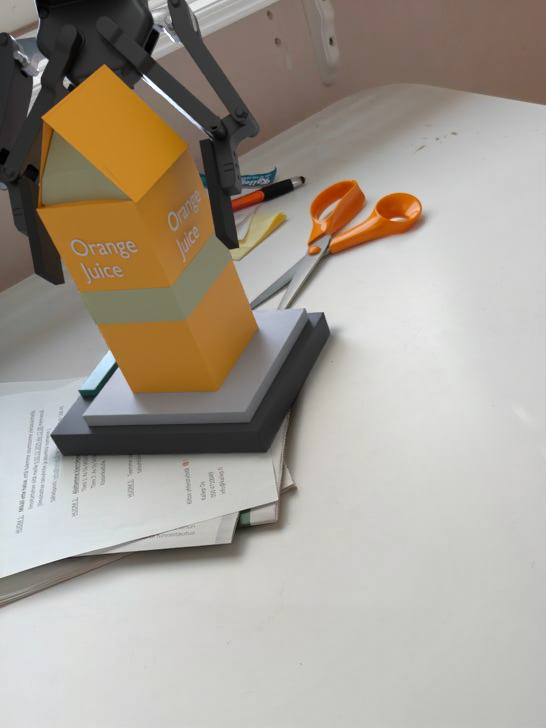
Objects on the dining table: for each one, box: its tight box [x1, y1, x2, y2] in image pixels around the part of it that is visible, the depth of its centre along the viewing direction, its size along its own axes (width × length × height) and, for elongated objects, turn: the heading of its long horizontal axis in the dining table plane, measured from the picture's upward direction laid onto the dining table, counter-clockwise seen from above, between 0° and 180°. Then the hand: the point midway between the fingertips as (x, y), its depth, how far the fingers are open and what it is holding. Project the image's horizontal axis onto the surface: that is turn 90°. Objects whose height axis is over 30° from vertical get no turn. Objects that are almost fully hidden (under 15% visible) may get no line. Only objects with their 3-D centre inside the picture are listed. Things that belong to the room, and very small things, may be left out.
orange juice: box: [36, 64, 258, 393], centre depth 69 cm, size 8×9×20 cm
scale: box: [49, 307, 331, 456], centre depth 78 cm, size 18×16×3 cm
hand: (138, 261), depth 68 cm, fingers open, 12 cm apart
